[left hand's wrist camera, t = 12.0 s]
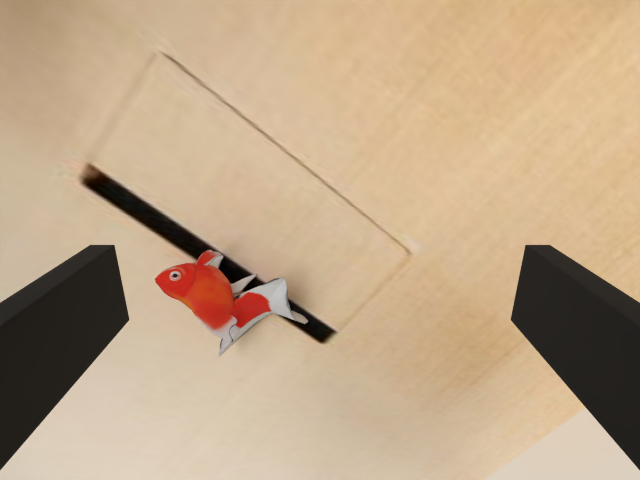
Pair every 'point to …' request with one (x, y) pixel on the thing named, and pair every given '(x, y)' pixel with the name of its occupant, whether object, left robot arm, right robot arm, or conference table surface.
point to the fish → (224, 297)
